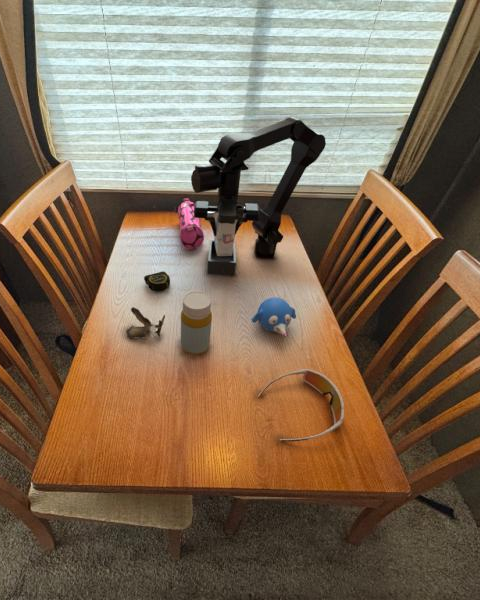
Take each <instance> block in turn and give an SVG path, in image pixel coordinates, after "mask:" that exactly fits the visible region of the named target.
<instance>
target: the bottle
mask: <svg viewBox="0 0 480 600" xmlns="http://www.w3.org/2000/svg"><path fill="white" fill-rule="evenodd" d="M211 309H212V298H211V296H210V295H209V294H208V293H207V292H205V291H201V290H192V291H189V292H187V293H186V294H184V296H183V298H182V311H181V312H180V346H181V349H182V350H183V352H185V353H186V354H189V355H192V356H199V355H203V354H204V353H206V352H207V351H208V350H209V348H210V344H211V333H212V321H213V320H212V318H213V314H212V311H211Z"/></svg>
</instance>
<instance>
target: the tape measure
mask: <svg viewBox="0 0 480 600" xmlns="http://www.w3.org/2000/svg"><path fill="white" fill-rule="evenodd" d="M143 281H144V282H145V285H146V286H147V287H148V289H149V290H150V291H151V292H153V293H162V292H165V291H167V290H169V288H170V287H171V277H170V275H169V274H167V272H166V271H158V272H154V273H150V274H147V275H146V274H145V275H144V277H143Z"/></svg>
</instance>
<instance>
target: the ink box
mask: <svg viewBox="0 0 480 600" xmlns="http://www.w3.org/2000/svg"><path fill="white" fill-rule="evenodd" d="M215 219H216V237H215V236H214V239H213V240H214V244H215V248H216V252H217V256H232V252H233V244H234V241H235V236H236V234H235V228H236V220H235V223H234V224H230V223H223V224H222V223H219V222H218V213H215Z"/></svg>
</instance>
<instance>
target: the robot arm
mask: <svg viewBox="0 0 480 600" xmlns="http://www.w3.org/2000/svg"><path fill="white" fill-rule="evenodd" d="M286 140H291V141H292V146H291V150H290V161H289V164H288V165H287V167H286V169H285V171H284V172H283V175H282V177H281V178H280V180H279V182H278V184H277V186H276V188H275V189H274V192H273V194H272V196H271V198H270V200H269V202H268V203H267V205H266V206H265V207H263V208H262V209H261V208H260V206H259V204H258V203H246V202H245V204H244V205H243V204H239V203H238V199H239V192H240V183H241V175H242V174H241V173H242V172H243V171H248V170H249V166H248V165H247V164H246V163H245V161H247V160H249V159H250V158H251V156H253V155H254V153H256V152H258V151H261V150H262V149H265V148H268V147H270V146H273V145H275V144H278V143H281V142H283V141H286ZM326 145H327V142H326V136H325V135H324V134H321V133H319V132H316V131H314V130H313V129H311V128H310V127H309V126H307V125H306V124H305V123H304V122H303V121H302V120H301V119H299V118H295V117H292V116H289V117H286V118H285V119H284V120H281V121H278V122H276V123H273V124H269V125H268V126H265V127H262V128H259V129H257V130H253V131H252V132H247V133H243V132H242V133H241V132H239V133H238V132H237V133H231V134H226V135H224V136H222V137H221V138H220V141H219V142H218V145H217V147H216V149H215V150H214V152H213V153H212V155H211V156H210V158H209V159H208V163H207V164H194V169H193V171H192V172H191V175H190V176H191V177H190V182H191V183H190V184H191V187H192V189H193V191H194V193H195V194H199V193H200V194H201V193H205V192H206V193H207V192H211V191H216V190H217V202H216V205H209V201H207V200H197V201H195V202H194V203H195V207H194V217H195V218H200V219H204V221H207V222H208V223H209V224H210V227H211V230H212V233H213V236H214V237H216V213H218V222H219V223H222V224H223V223H230V224H234V223H235V220H236V228H235V235H237V232H238V231H239V229H240V227H241V226H242V225H243V224H245V223H248V222H249V221H250V222H251V221H252V222H251V226H252V229H253V230H254V233H255V234H256V235H257V238H255V241H254V246H253V252H254V254H255V258H259V259H260V258H261V259H276V251H277V250H276V249H277V245H278V244H280V243H281V242H282V241H283V239H284V235H283V234H282V233H281V232H280V231H279V229H280V226H281V224H282V213H283V211H284V209H285V207H286V205H287V204H288V201H289V200H290V198H291V196H292V194H293V193H294V191H295V189H296V187H297V185H298V184H299V182H300V180H301V178H302V176H303V174H304V173H305V171H306V169H307V168H309V166H311V165H312V164H313V163H315V162H316V161H317V160H318V159H319V157H320V156H321V154H322V153H323V151H325V147H326ZM222 159H224V160H225V161H223V160H222Z"/></svg>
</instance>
